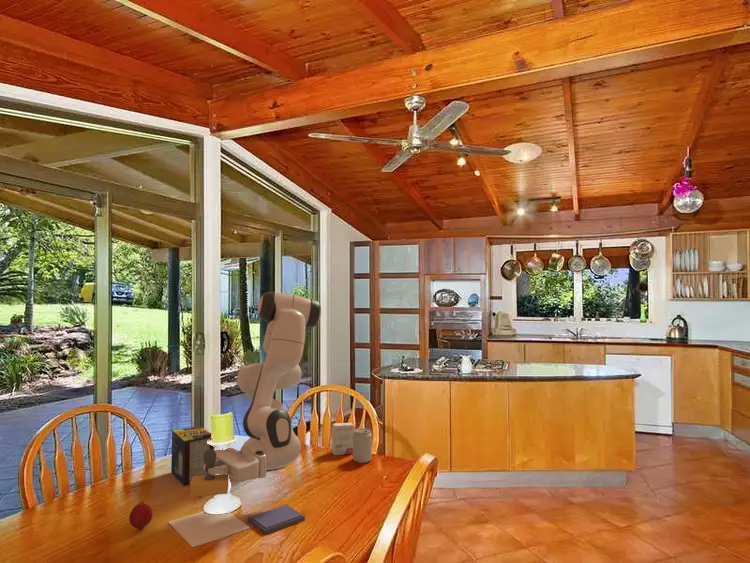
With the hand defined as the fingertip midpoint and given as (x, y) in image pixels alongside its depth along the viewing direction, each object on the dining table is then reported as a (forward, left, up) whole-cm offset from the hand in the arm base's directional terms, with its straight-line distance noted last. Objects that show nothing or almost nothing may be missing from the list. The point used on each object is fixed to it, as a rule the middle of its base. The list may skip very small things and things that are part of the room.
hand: (206, 469), depth 138 cm
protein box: (-39, +12, -16) cm, 44 cm away
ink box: (-24, +69, -16) cm, 75 cm away
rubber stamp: (0, +1, -6) cm, 7 cm away
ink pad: (+10, +17, -16) cm, 25 cm away
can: (-12, +69, -16) cm, 72 cm away
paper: (0, +1, -16) cm, 16 cm away
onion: (-10, -14, -16) cm, 24 cm away
